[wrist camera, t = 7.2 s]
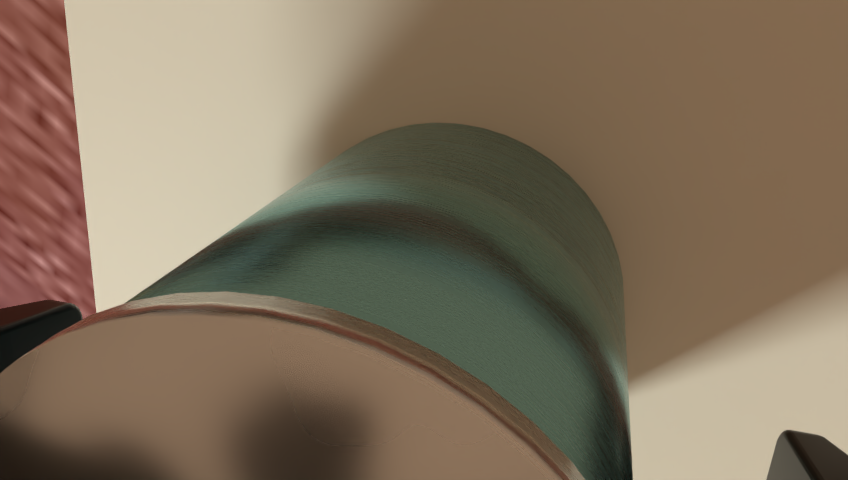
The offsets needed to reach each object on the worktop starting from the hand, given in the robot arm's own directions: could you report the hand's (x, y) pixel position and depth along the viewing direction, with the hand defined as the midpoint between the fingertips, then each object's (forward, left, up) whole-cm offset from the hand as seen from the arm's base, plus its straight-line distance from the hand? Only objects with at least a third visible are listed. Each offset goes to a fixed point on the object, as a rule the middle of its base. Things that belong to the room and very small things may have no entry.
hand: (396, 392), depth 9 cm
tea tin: (0, 0, -3) cm, 3 cm away
